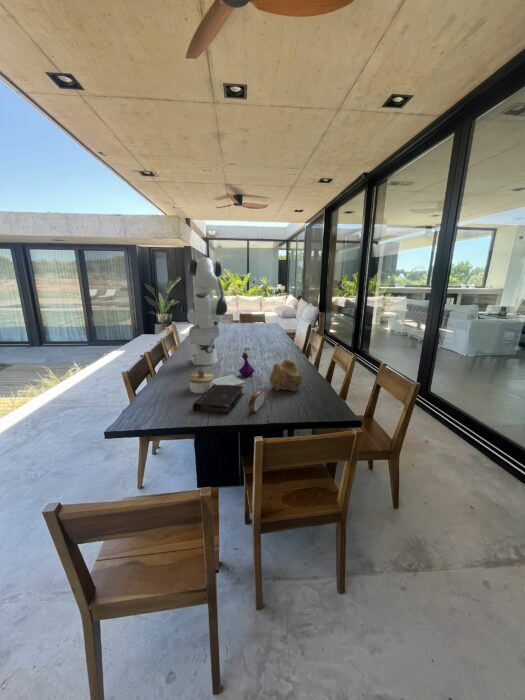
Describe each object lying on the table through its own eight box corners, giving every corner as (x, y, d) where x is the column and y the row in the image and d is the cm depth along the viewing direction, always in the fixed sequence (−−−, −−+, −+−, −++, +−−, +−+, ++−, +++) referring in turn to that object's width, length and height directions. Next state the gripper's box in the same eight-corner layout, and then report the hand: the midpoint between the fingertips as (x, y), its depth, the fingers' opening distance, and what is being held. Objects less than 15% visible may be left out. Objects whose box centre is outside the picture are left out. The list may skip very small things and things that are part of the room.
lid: (189, 374, 169) (189, 366, 168) (214, 374, 171) (214, 365, 170) (186, 383, 156) (186, 374, 155) (213, 382, 157) (213, 373, 156)
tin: (260, 401, 149) (260, 385, 147) (266, 402, 148) (266, 386, 146) (248, 414, 136) (248, 397, 134) (254, 415, 135) (254, 398, 132)
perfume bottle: (247, 378, 182) (247, 350, 178) (238, 375, 186) (238, 348, 182) (255, 375, 188) (255, 347, 183) (246, 372, 192) (245, 345, 188)
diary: (192, 412, 139) (191, 402, 137) (212, 392, 162) (212, 383, 161) (230, 416, 135) (229, 405, 133) (245, 394, 158) (245, 386, 157)
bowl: (187, 387, 166) (186, 377, 165) (206, 383, 173) (206, 373, 172) (196, 394, 157) (195, 384, 155) (216, 389, 164) (216, 379, 162)
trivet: (208, 380, 177) (208, 380, 177) (231, 375, 186) (231, 374, 186) (222, 389, 165) (222, 388, 165) (245, 383, 174) (245, 382, 174)
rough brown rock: (293, 399, 154) (296, 372, 150) (264, 391, 161) (267, 365, 157) (307, 386, 174) (310, 362, 170) (281, 379, 181) (284, 356, 177)
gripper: (193, 327, 150) (195, 353, 154) (220, 321, 167) (221, 344, 171) (185, 326, 154) (187, 351, 158) (212, 320, 170) (213, 343, 174)
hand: (205, 348), depth 164 cm, fingers open, 8 cm apart
